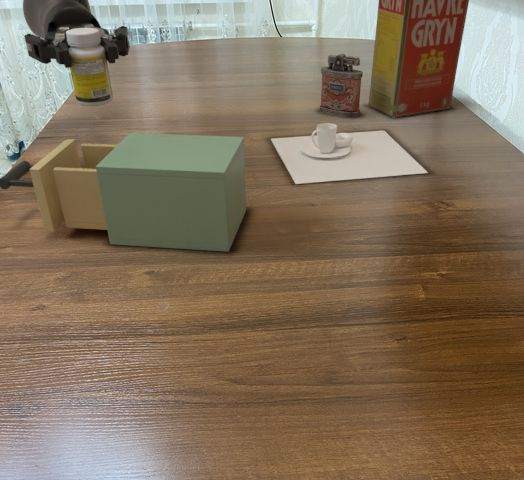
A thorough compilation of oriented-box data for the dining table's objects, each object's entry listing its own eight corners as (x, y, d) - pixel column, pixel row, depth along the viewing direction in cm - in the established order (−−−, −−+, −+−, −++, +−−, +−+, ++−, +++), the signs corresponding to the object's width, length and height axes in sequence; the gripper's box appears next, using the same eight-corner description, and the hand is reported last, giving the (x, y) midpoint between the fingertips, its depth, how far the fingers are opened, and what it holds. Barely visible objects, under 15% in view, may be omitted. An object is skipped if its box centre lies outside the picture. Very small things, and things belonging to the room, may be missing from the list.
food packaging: (393, 119, 110) (412, -45, 95) (366, 105, 117) (379, -50, 102) (453, 109, 114) (480, -50, 99) (423, 96, 121) (444, -54, 106)
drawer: (0, 228, 75) (-19, 166, 70) (37, 194, 83) (23, 137, 78) (151, 237, 72) (142, 174, 68) (174, 201, 80) (168, 143, 76)
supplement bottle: (86, 95, 82) (73, 26, 77) (118, 97, 81) (108, 27, 76) (70, 106, 79) (55, 34, 73) (104, 107, 78) (92, 35, 73)
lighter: (315, 111, 114) (318, 54, 108) (325, 107, 116) (327, 50, 110) (354, 118, 111) (358, 59, 104) (362, 114, 113) (367, 55, 107)
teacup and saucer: (347, 141, 101) (349, 116, 98) (361, 158, 94) (364, 131, 92) (295, 145, 100) (296, 120, 97) (306, 162, 93) (307, 135, 91)
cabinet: (109, 244, 73) (95, 166, 67) (140, 204, 82) (129, 132, 76) (228, 251, 71) (224, 172, 65) (246, 210, 80) (243, 137, 74)
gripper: (12, 5, 83) (20, 27, 70) (117, -3, 87) (143, 17, 74) (25, 64, 87) (36, 95, 75) (125, 54, 91) (151, 82, 79)
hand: (89, 56), depth 74 cm, fingers closed on supplement bottle, 4 cm apart
